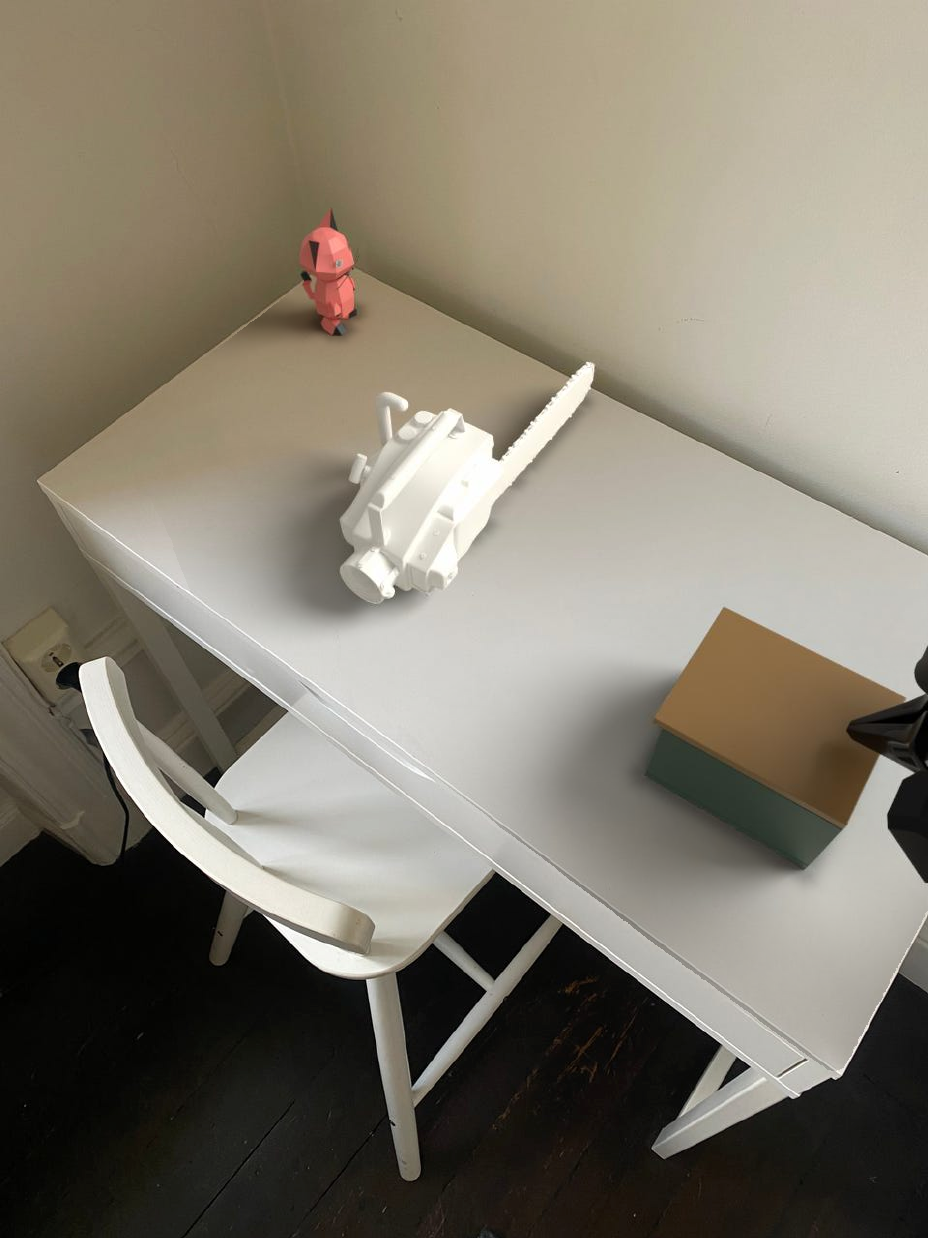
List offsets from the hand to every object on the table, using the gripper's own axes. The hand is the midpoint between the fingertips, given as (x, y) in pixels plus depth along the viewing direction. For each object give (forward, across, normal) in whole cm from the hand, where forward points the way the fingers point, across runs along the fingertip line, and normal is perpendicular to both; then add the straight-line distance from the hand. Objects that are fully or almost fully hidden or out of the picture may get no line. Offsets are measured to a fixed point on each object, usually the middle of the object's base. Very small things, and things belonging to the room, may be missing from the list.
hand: (850, 730), depth 63 cm
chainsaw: (+36, -12, -22) cm, 44 cm away
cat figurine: (+54, -24, -40) cm, 71 cm away
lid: (+5, 0, -2) cm, 5 cm away
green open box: (+10, 0, +4) cm, 11 cm away
